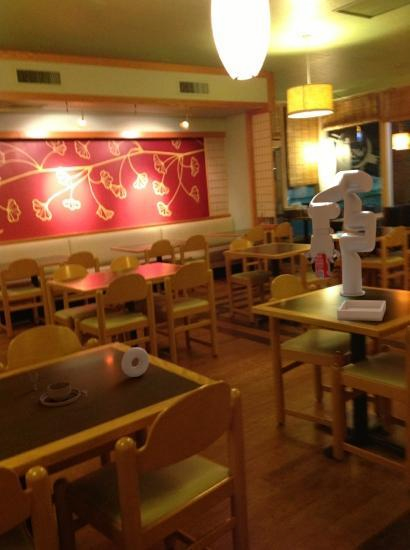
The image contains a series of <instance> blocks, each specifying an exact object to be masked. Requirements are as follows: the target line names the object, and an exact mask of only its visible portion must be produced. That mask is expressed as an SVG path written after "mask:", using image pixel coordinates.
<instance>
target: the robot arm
mask: <svg viewBox="0 0 410 550" xmlns="http://www.w3.org/2000/svg"><path fill="white" fill-rule="evenodd" d="M373 181H374V180H373V178H372V176H371V175H370V174H369V173H367V172H365V171H363V170H360V169H354V170H353V169H351V170H342V171H339V172H337V173H336V174H335V175H334V177H333V179H332V182H330V185H329V186H328V187H327V188H326V189H324V190H322V191H320V192H319V193H317V194H316V195H315V196H314V197H313V198H312V200H311V201H310V203H309V205H308V208H307V215H308V217H309V218H310V219H311V222H312V235H311V238H310V249H309V250H308V251H307V252H305V253H304V257H305V258H306V259H307V261H309V262H310V264H311V270H312V272H313V273H315V257H316V255H317V253H325V254H326V255H327V256H328V257H329V259H330V261H331V263H330V272H331V273H333V272H334V271H335V262H336V261H337V260H338V259H339V257H340V256H341V271H342V272H341V273H342V276H341V277H342V290H341V291H340V292H339V295H340V296H342V297H352V298H353V297H360V296H364V295H366V291H365V290H363V280H362V279H363V278H362V258H361V257H360V255H359V253H360V252H361V253H364V252H366V253H367V252H368V253H369V252H372V251H373V250H374V249H375V247H376V235H377V217H376V214H375V212H373V211H372V210H371V211H370V210H362V205H363V203H362V200H361V198H360V197H359V196H358V193H368V192H370V191H371V190H372V189H373V187H374V186H373V185H374V182H373ZM342 200H343V203H344V206H343V207H344V209H343V228H344V229H345V230H348V231H364V232H345V233H343V234H342V235H340V236H339V240H338V243H339V248H340V251H339V250H338V249H335V244H334V237H333V234H331V233H333V232H334V229H333V228H331V227H330V223H331V222H330V220H334V219H337V218H338V217H339V216H340V214H341V206H340V204H338V202H340V201H342ZM358 252H359V253H358ZM334 256H335V257H334Z"/></svg>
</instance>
